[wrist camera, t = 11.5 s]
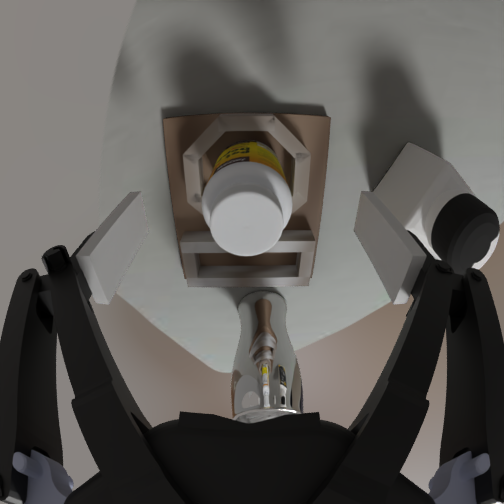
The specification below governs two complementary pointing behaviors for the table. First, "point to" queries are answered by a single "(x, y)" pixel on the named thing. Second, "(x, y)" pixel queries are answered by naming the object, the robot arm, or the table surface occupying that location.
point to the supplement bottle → (247, 199)
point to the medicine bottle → (439, 209)
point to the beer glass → (264, 362)
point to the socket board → (297, 176)
